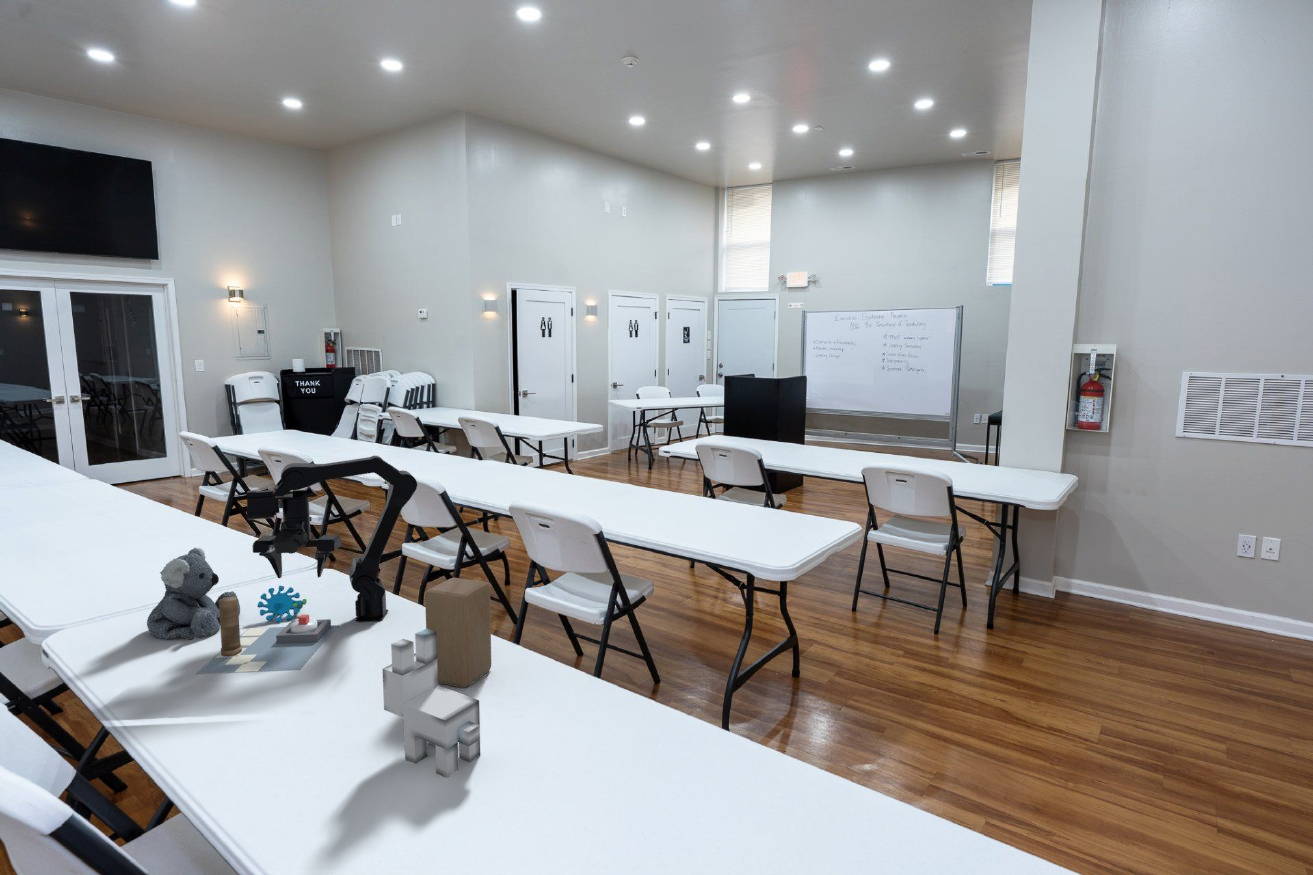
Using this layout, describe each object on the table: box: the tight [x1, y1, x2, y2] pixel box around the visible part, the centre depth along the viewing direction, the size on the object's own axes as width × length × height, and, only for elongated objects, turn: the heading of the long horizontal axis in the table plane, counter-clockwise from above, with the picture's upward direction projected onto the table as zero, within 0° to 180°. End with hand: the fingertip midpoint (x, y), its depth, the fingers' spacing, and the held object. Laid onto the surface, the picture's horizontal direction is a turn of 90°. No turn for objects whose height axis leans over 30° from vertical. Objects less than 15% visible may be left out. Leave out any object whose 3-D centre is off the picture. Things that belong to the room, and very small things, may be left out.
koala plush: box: [146, 547, 241, 640], centre depth 166 cm, size 17×18×20 cm
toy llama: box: [382, 628, 481, 779], centre depth 116 cm, size 8×18×20 cm, turn 60°
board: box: [195, 618, 340, 675], centre depth 156 cm, size 21×24×3 cm
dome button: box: [291, 614, 318, 633], centre depth 162 cm, size 6×6×4 cm
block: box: [424, 577, 492, 689], centre depth 144 cm, size 10×10×20 cm
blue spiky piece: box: [257, 585, 307, 623], centre depth 176 cm, size 11×6×10 cm
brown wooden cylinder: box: [219, 596, 242, 657], centre depth 152 cm, size 4×4×12 cm
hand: (299, 577), depth 167 cm, fingers open, 9 cm apart
